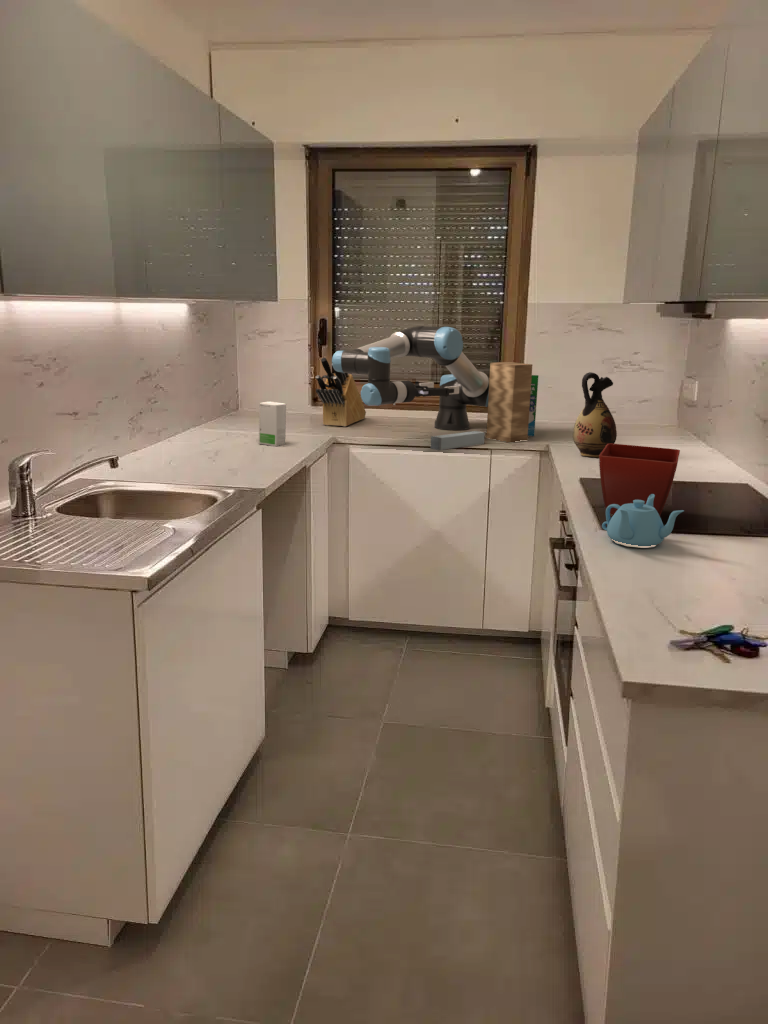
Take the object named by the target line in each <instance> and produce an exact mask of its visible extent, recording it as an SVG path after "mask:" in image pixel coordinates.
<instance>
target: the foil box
mask: <svg viewBox="0 0 768 1024" xmlns="http://www.w3.org/2000/svg"><path fill="white" fill-rule="evenodd" d="M485 437H486V432H483V431H479V430H473V431H472V430H470V431H465V432H457V433H449V434H441V435H431V436H430V449H432V450H437V451H444V450H451V449H452V450H453V449H457V448H458V449H459V448H464V447H471V446H472V447H473V446H478V445H484V444H485Z"/></svg>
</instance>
